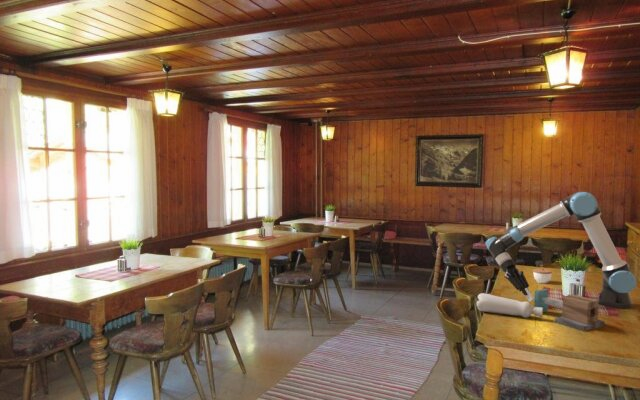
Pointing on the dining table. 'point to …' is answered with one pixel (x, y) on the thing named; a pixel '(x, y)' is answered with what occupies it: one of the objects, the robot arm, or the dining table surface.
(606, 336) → the dining table surface
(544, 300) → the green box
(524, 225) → the robot arm
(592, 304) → the bearing block
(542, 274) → the lidded jar
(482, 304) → the bottle
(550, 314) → the dining table surface
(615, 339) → the dining table surface
